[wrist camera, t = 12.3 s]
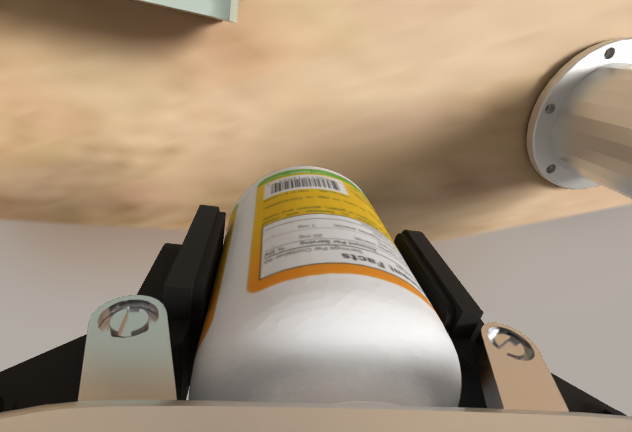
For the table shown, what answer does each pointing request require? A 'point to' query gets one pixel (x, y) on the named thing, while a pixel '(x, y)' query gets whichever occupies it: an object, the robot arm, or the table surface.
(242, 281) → the supplement bottle
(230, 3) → the lid
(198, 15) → the walnut box
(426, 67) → the table surface
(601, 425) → the robot arm
